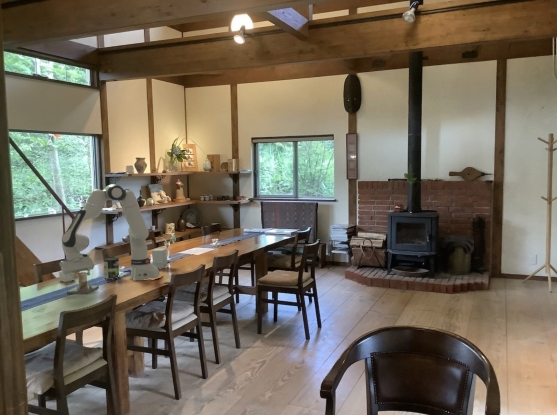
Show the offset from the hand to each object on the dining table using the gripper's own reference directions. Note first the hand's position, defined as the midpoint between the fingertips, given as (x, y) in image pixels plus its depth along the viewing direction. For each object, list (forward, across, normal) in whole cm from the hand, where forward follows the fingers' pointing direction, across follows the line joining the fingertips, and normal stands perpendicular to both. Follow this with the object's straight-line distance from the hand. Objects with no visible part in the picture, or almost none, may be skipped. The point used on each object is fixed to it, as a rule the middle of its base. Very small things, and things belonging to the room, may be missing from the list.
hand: (81, 276), depth 303 cm
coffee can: (-6, +28, +19) cm, 35 cm away
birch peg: (+6, 0, +4) cm, 8 cm away
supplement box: (-6, +68, +20) cm, 71 cm away
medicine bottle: (-18, +3, +31) cm, 36 cm away
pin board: (+8, 0, +6) cm, 10 cm away
